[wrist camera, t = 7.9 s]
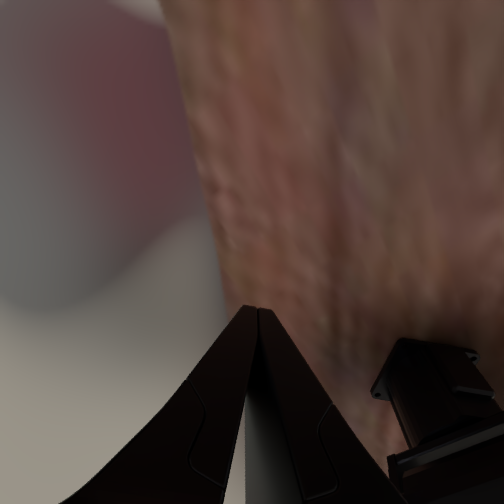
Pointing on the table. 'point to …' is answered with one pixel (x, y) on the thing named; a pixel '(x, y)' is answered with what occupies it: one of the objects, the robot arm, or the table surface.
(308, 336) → the table surface
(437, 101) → the table surface
